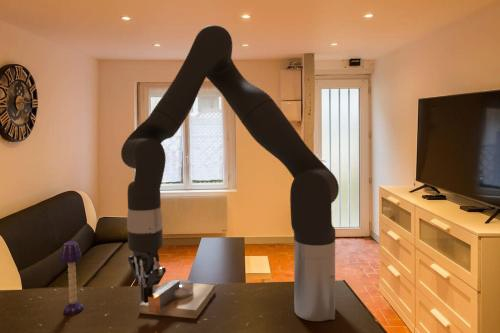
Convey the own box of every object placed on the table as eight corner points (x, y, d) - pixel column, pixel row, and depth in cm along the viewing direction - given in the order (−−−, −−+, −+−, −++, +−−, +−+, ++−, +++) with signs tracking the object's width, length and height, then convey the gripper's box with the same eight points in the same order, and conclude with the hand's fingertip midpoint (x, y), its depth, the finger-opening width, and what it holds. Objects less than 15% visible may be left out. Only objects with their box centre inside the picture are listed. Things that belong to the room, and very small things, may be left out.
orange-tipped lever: (174, 285, 98) (174, 271, 98) (198, 289, 96) (198, 275, 95) (139, 311, 85) (138, 295, 84) (165, 316, 82) (165, 299, 82)
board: (215, 292, 99) (214, 283, 99) (196, 318, 86) (195, 308, 85) (165, 288, 102) (165, 279, 102) (139, 312, 89) (139, 303, 88)
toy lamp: (89, 307, 92) (85, 240, 90) (76, 316, 87) (71, 246, 86) (72, 305, 93) (68, 239, 91) (58, 314, 89) (53, 245, 87)
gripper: (115, 224, 87) (118, 296, 89) (145, 237, 77) (147, 317, 79) (144, 218, 92) (146, 287, 94) (176, 229, 83) (177, 305, 85)
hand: (147, 300), depth 87 cm, fingers closed
